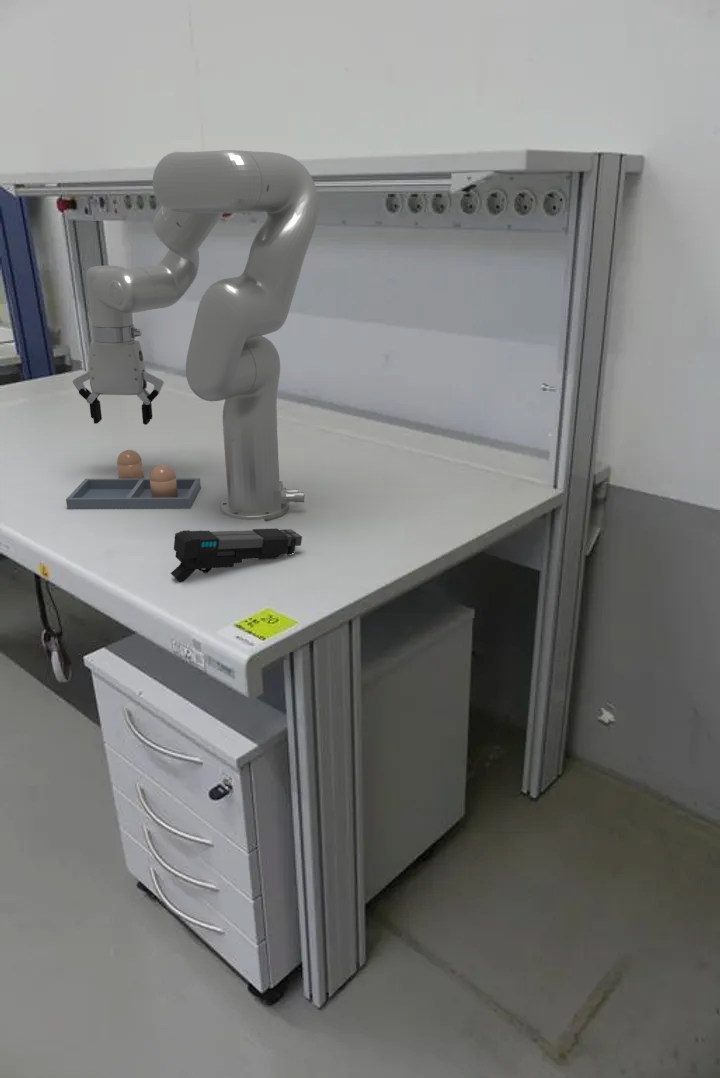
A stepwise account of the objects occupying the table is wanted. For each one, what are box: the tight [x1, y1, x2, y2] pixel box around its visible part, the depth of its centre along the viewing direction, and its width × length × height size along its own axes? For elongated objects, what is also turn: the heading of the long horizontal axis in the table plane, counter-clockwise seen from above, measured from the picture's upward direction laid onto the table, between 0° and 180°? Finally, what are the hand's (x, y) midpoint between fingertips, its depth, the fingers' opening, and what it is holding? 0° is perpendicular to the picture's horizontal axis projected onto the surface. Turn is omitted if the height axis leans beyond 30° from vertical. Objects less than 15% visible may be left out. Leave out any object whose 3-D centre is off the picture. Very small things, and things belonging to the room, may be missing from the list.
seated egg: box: [149, 464, 178, 498], centre depth 152 cm, size 5×5×6 cm
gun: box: [170, 528, 303, 583], centre depth 126 cm, size 4×20×10 cm, turn 123°
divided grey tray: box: [65, 477, 202, 510], centre depth 153 cm, size 22×12×2 cm, turn 90°
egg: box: [116, 449, 145, 479], centre depth 163 cm, size 5×5×6 cm
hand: (122, 422), depth 160 cm, fingers open, 9 cm apart
